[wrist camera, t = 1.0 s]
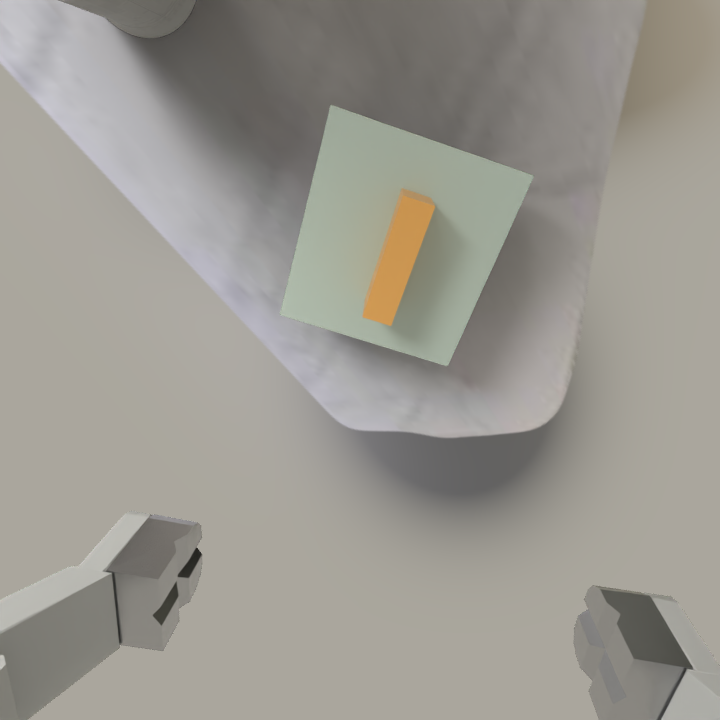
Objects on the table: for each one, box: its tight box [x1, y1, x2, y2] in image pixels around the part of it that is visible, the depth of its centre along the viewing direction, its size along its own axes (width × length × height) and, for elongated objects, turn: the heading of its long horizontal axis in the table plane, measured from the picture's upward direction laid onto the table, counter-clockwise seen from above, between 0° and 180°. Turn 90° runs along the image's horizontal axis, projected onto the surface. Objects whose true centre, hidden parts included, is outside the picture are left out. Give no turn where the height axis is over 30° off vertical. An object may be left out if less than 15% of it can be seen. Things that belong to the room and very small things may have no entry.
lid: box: [280, 105, 534, 366], centre depth 32 cm, size 14×13×6 cm
